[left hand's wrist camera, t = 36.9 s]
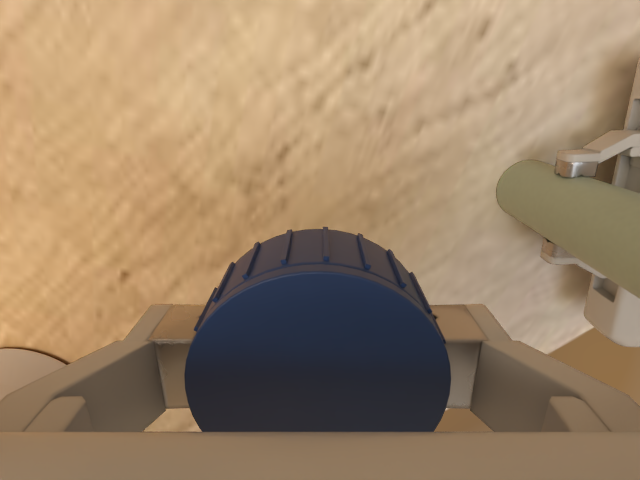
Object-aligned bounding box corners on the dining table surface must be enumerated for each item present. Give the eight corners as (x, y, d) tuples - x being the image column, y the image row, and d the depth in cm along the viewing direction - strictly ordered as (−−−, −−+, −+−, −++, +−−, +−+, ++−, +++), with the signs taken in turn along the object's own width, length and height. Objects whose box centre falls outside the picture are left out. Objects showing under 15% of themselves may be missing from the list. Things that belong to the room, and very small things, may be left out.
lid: (315, 441, 11) (314, 523, 9) (165, 323, 10) (123, 388, 8) (469, 330, 10) (510, 396, 8) (321, 176, 9) (321, 206, 7)
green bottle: (545, 149, 31) (837, 225, 13) (560, 200, 32) (842, 328, 15) (488, 176, 31) (696, 281, 14) (505, 225, 33) (714, 374, 16)
